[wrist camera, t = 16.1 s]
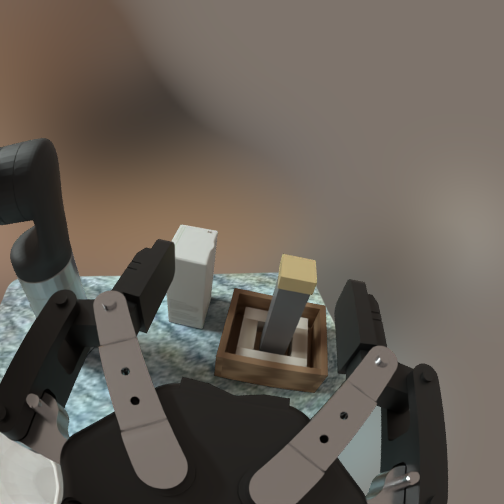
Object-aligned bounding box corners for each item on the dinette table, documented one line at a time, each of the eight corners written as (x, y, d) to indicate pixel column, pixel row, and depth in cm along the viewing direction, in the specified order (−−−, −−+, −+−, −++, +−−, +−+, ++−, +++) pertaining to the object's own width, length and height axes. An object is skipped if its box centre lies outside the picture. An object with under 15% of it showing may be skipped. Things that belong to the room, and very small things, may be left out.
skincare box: (180, 290, 54) (180, 222, 45) (213, 297, 54) (220, 229, 45) (167, 323, 47) (161, 253, 38) (204, 331, 48) (207, 262, 38)
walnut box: (214, 375, 41) (216, 356, 37) (231, 310, 52) (234, 287, 49) (314, 392, 41) (327, 375, 37) (315, 326, 52) (325, 305, 48)
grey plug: (256, 356, 44) (280, 276, 33) (259, 335, 48) (282, 253, 37) (282, 361, 44) (316, 283, 33) (284, 340, 48) (315, 260, 37)
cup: (59, 538, 13) (17, 538, 7) (8, 471, 18) (-37, 448, 11) (113, 499, 22) (82, 492, 15) (57, 433, 27) (20, 405, 20)
